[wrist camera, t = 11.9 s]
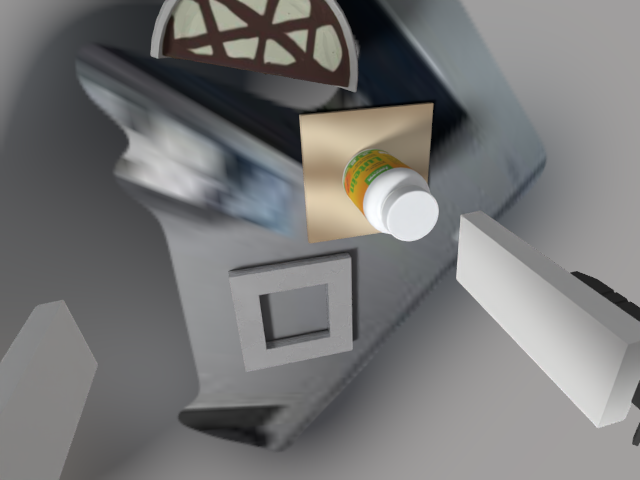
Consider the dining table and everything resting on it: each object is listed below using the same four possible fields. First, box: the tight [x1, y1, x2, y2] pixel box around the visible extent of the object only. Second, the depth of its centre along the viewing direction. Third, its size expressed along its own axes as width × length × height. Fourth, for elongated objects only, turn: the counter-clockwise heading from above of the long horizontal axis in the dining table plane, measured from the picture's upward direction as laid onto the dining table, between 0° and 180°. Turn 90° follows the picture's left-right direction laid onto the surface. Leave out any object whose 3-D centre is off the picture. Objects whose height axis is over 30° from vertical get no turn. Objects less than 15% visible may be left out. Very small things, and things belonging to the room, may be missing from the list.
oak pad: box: [299, 102, 433, 243], centre depth 38 cm, size 12×12×1 cm
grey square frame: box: [229, 252, 353, 372], centre depth 42 cm, size 12×12×1 cm
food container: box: [151, 0, 358, 92], centre depth 26 cm, size 12×6×10 cm, turn 80°
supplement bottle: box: [343, 149, 439, 241], centre depth 33 cm, size 5×5×10 cm
